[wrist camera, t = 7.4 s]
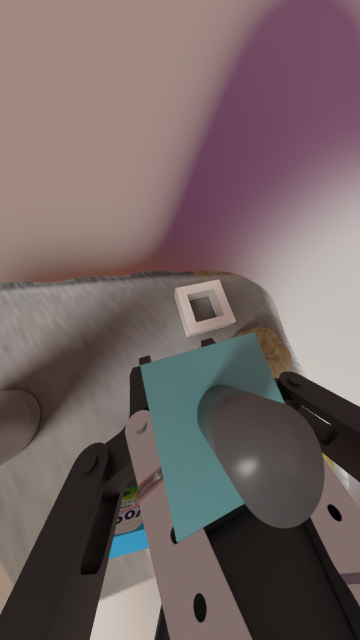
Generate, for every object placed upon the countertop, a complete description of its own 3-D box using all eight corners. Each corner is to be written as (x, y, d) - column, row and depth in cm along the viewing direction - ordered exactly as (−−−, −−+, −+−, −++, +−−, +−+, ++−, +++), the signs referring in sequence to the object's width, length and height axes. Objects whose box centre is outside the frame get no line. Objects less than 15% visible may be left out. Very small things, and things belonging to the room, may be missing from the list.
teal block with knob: (163, 405, 14) (202, 795, 1) (153, 363, 15) (124, 367, 2) (201, 391, 15) (441, 553, 2) (190, 352, 15) (311, 313, 3)
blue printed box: (164, 479, 21) (166, 523, 15) (165, 492, 21) (167, 542, 15) (76, 498, 20) (40, 556, 14) (75, 512, 19) (37, 578, 13)
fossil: (272, 319, 25) (305, 380, 20) (274, 325, 28) (303, 380, 23) (223, 336, 29) (241, 391, 24) (230, 340, 32) (247, 389, 28)
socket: (186, 337, 28) (190, 334, 24) (174, 296, 30) (175, 288, 27) (227, 326, 30) (236, 321, 26) (213, 288, 32) (219, 279, 28)
